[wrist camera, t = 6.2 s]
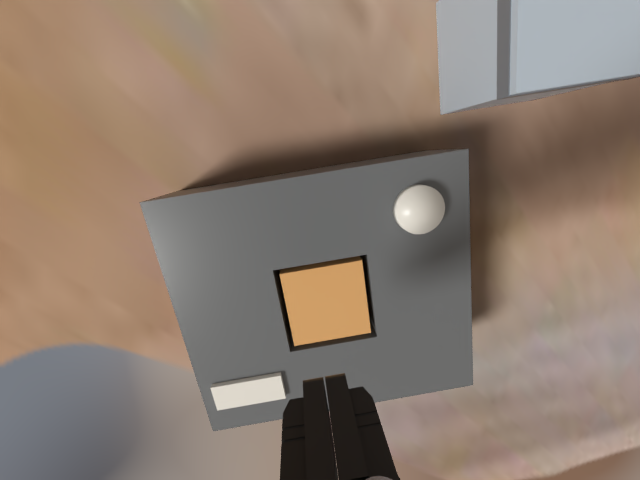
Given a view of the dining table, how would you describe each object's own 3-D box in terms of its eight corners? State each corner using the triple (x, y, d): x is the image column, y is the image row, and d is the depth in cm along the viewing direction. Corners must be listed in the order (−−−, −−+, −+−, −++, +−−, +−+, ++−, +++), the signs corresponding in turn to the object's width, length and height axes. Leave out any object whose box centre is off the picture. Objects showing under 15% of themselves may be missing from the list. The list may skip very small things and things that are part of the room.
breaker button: (295, 305, 22) (294, 345, 17) (284, 247, 21) (279, 274, 16) (356, 295, 22) (371, 332, 17) (348, 236, 21) (362, 260, 16)
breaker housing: (231, 374, 23) (210, 440, 18) (179, 190, 19) (132, 204, 14) (437, 337, 23) (478, 392, 18) (427, 150, 20) (475, 148, 14)
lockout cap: (439, 115, 19) (514, 95, 12) (434, 2, 18) (518, -92, 11) (534, 100, 19) (658, 72, 13) (538, -13, 18) (685, -117, 11)
